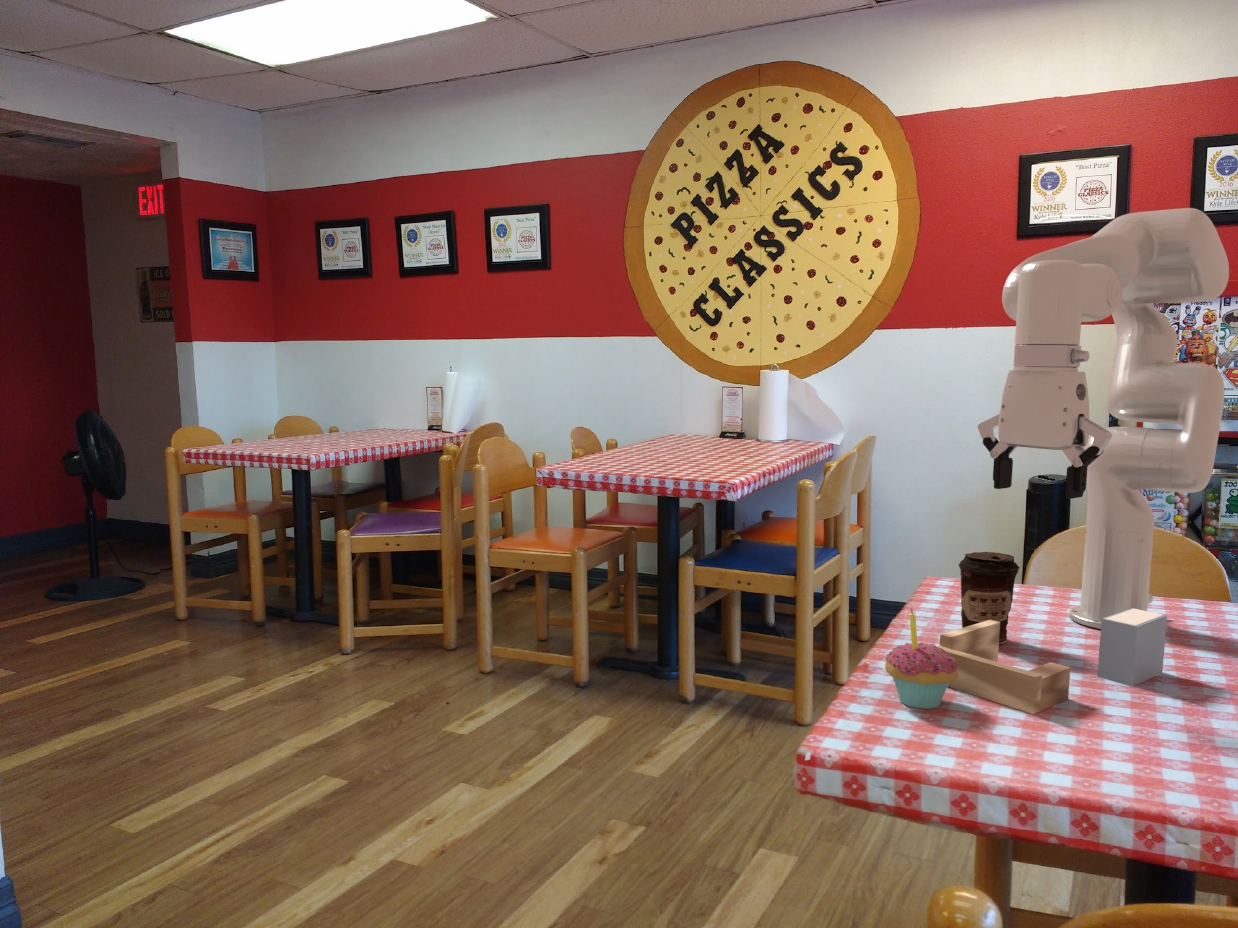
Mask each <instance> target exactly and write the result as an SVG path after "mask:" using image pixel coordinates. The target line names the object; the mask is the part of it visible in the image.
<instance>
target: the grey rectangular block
mask: <svg viewBox="0 0 1238 928" xmlns="http://www.w3.org/2000/svg"><path fill="white" fill-rule="evenodd" d="M1167 618H1168V615H1167V614H1161V613H1158V612H1157V613H1156V612H1152V611H1149V610H1147V611H1143V610H1138V609H1134V608H1131V609H1128V610H1125V611H1122V612H1119V613H1116V614H1114V615H1111V616H1108V617H1105V618H1102V620H1101V629H1100V635H1099V636H1100V637H1099V650H1098V662H1097V663H1098V664H1097V675H1096V676H1097V678H1101V679H1104V680H1109V681H1110V682H1111V681H1112V682H1116V683H1119V684H1123V685H1127V686H1131V687H1134V686H1137V685H1139V684H1141V683H1143V682H1145V681H1148V680H1149V679H1152V678H1153V677H1156V676H1158V675H1160V674H1163V668H1164V656H1165V644H1166V634H1167V633H1166V631H1167V623H1168V622H1167Z"/></svg>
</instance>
